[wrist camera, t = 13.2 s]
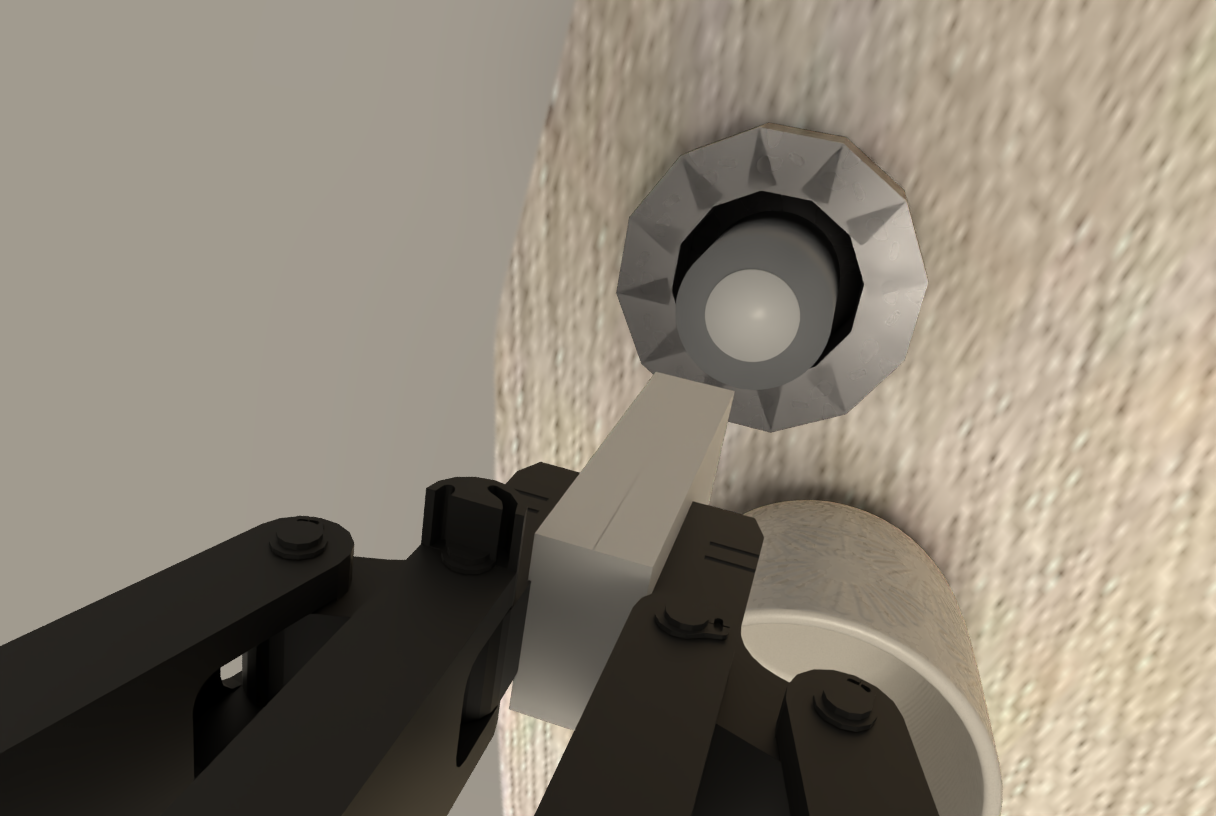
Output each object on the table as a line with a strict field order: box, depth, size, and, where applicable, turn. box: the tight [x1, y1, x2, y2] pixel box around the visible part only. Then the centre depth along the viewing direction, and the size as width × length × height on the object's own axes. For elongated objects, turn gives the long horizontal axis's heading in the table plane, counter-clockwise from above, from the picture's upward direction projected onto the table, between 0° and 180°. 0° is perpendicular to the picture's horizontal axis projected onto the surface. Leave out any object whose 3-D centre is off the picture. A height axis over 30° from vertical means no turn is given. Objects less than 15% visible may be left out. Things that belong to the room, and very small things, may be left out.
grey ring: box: [616, 123, 928, 432], centre depth 34 cm, size 10×10×3 cm
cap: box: [676, 211, 840, 390], centre depth 32 cm, size 5×5×6 cm
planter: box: [741, 500, 1002, 816], centre depth 35 cm, size 12×12×11 cm
